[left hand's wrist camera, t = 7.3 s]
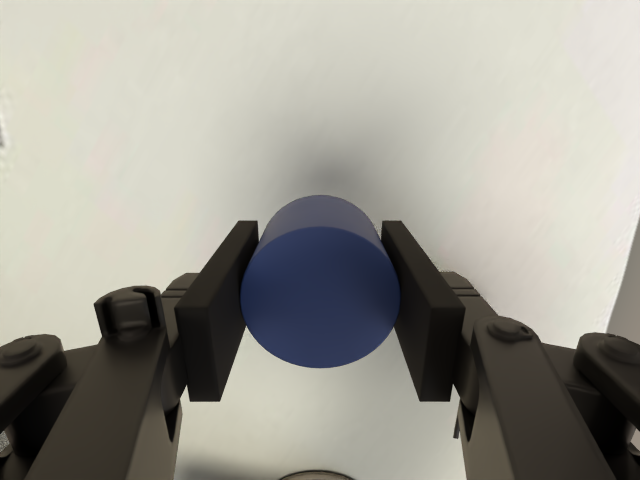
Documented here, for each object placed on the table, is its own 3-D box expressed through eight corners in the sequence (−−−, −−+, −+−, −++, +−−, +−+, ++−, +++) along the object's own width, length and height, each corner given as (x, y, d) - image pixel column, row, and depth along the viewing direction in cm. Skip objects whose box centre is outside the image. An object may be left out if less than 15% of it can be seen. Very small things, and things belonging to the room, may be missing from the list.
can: (320, 168, 13) (321, 190, 9) (404, 253, 14) (434, 304, 11) (236, 252, 14) (205, 303, 11) (320, 324, 16) (319, 393, 12)
